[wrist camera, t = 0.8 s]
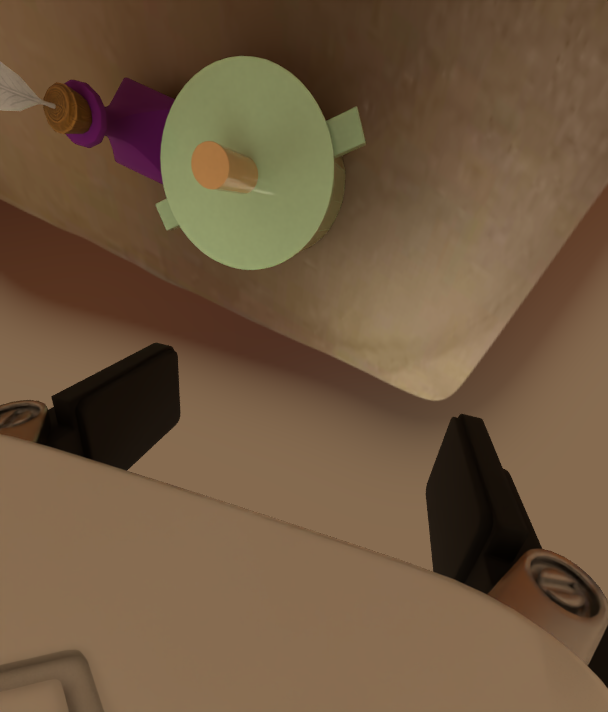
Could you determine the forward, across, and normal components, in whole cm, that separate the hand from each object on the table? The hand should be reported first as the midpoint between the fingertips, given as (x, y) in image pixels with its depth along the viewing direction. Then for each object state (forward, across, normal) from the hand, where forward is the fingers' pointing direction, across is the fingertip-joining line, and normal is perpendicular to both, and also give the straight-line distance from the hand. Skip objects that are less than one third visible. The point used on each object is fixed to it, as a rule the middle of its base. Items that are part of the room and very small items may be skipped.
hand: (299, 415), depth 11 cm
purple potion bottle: (+28, +23, -11) cm, 38 cm away
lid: (+19, +11, -8) cm, 23 cm away
